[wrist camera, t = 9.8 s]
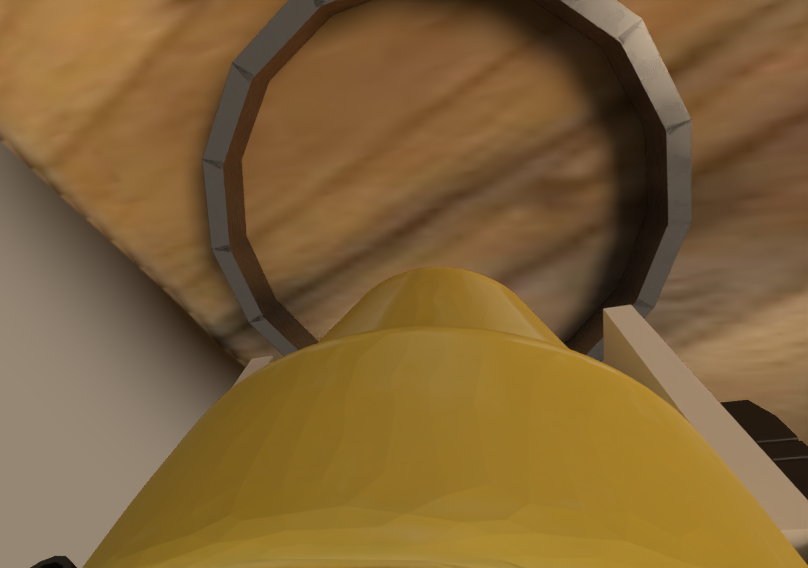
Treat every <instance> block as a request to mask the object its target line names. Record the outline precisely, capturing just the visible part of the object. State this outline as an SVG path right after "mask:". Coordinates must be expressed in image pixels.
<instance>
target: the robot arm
mask: <svg viewBox="0 0 808 568" xmlns="http://www.w3.org/2000/svg"><path fill="white" fill-rule="evenodd" d="M603 341H604V364H607V365H609V366H611V367H613V368H615V369H617V370H619V371H621V372H622V373H624V374H626V375H628V376H629V377H631V378H633V379H634V380H636V381H638V382H639V383H641V384H643V385H644V386H646V387H647V388H649V389H650V390H651V391H653V392H654V393H655V394H657V395H658V396H659V397H661V398H662V399H663V400H665V401H666V402H667V403H669V404H670V405H671V406H673V407H674V408H675V409H676V410H677V411H678V412H679V413H680V414H681V415H682V416H683V417H684V418H685V419H686V420H687V421H688V422H689V423H690V424H691V425H692V426H693V427H694V428H695V429H696V430H697V431H698V433H699V434H700V435H701V436H702V437H703V438H704V439H705V440H706V442H707V443H708V444H709V445H710V446H711V447H712V448H713V449H714V451H715V452H716V453H717V454H718V455H719V456H720V457H721V459H722V460H723V461H724V462H725V463H726V464H727V466H728V467H729V468H730V469H731V470H732V472H733V473H734V474H735V475H736V476H737V478H738V479H739V480H740V481H741V482H742V484H743V485H744V486H745V487H746V488H747V489H748V491H749V492H750V493H751V494H752V495H753V497H754V498H755V499H756V500H757V502H758V503H759V504H760V505H761V507H762V508H763V509H764V510H765V512H766V513H767V514H768V516H769V517H770V518H771V519H772V521H773V522H774V523H775V524H776V526H777V527H778V528H779V529H780V531H781V532H782V533H783V535H784V536H785V537H786V538H787V540H788V541H789V542H790V543H791V545H792V546H793V547H794V548H795V550H796V551H797V552H798V554H799V555H800V556H801V557H802V559H803V560H804V561H805V562H806V564H807V565H808V446H807V445H806V444H805V443H803V442H802V441H799V440H798V438H797V436H796V435H795V434H794V433H793V432H792V431H791V430H790V429H789V428H788V427H787V426H786V425H785V424H784V423H783V422H782V421H781V420H780V419H779V418H777V417H776V416H775V415H773V414H772V413H770V412H768V411H766V410H764V409H763V408H761V407H759V406H757V405H756V404H754V403H752V402H750V401H749V400H742V401H732V402H723V403H719V401H718V400H717V399H716V398H715V397H714V396H713V395H712V394H711V393H710V391H709V390H708V389H707V388H706V387H705V386H704V385H703V384H702V383H701V382H700V380H699V379H698V378H697V377H696V376H695V375H694V374H693V373H692V372H691V370H690V369H689V368H688V367H687V366H686V365H685V364H684V363H683V362H682V361H681V359H680V358H679V357H678V356H677V355H676V354H675V353H674V352H673V351H672V349H671V348H670V347H669V346H668V345H667V344H666V343H665V342H664V341H663V339H662V338H661V337H660V336H659V335H658V334H657V333H656V332H655V331H654V330H653V328H652V327H651V326H650V325H649V324H648V323H647V322H646V321H645V320H644V318H643V317H642V316H641V315H640V314H639V313H638V312H637V311H636V310H635V309H634V307H633V306H632V305H625V306H618V307H611V308H604V309H603ZM273 361H275V359H274V356H267V357H260V358H253V359H251V361H250V362H249V364H248V365H247V367H246V368H245V369H244V371H243V372H242V374H241V375H240V377H239V378H238V380H237V381H236V382H235V384H234V386H235V385H236V384H238V383H239V382H241V381H242V380H244V379H245V378H247V377H248V376H250V375H251V374H253V373H254V372H256V371H257V370H259V369H260V368H262V367H264V366H266V365H267V364H269V363H271V362H273ZM31 568H77V567H76V566H75V565H74V564H73V563H72V562H71V561H70V560H69V559H68V558H67V557H66V556H54V557H51V558H49V559H46V560H44V561H41V562H39V563H37V564H36V565H34V566H32V567H31Z"/></svg>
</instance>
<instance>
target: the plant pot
mask: <svg viewBox="0 0 808 568" xmlns="http://www.w3.org/2000/svg"><path fill="white" fill-rule="evenodd" d="M83 568H808V565H807V564H806V562H805V561H804V560H803V559H802V557H801V556H800V555H799V554H798V552H797V551H796V550H795V548H794V547H793V546H792V545H791V543H790V542H789V541H788V540H787V538H786V537H785V536H784V535H783V533H782V532H781V531H780V529H779V528H778V527H777V526H776V524H775V523H774V522H773V521H772V519H771V518H770V517H769V516H768V514H767V513H766V512H765V510H764V509H763V508H762V507H761V505H760V504H759V503H758V502H757V500H756V499H755V498H754V497H753V495H752V494H751V493H750V492H749V491H748V489H747V488H746V487H745V486H744V485H743V484H742V482H741V481H740V480H739V479H738V478H737V476H736V475H735V474H734V473H733V472H732V470H731V469H730V468H729V467H728V466H727V464H726V463H725V462H724V461H723V460H722V459H721V457H720V456H719V455H718V454H717V453H716V452H715V451H714V449H713V448H712V447H711V446H710V445H709V444H708V443H707V442H706V440H705V439H704V438H703V437H702V436H701V435H700V434H699V433H698V431H697V430H696V429H695V428H694V427H693V426H692V425H691V424H690V423H689V422H688V421H687V420H686V419H685V418H684V417H683V416H682V415H681V414H680V413H679V412H678V411H677V410H676V409H675V408H674V407H673V406H671V405H670V404H669V403H667V402H666V401H665V400H663V399H662V398H661V397H659V396H658V395H657V394H655V393H654V392H653V391H651V390H650V389H649V388H647V387H646V386H644V385H643V384H641V383H639V382H638V381H636V380H634V379H633V378H631V377H629V376H628V375H626V374H624V373H622V372H621V371H619V370H617V369H615V368H613V367H611V366H609V365H607V364H604V363H602V362H600V361H598V360H596V359H593V358H591V357H589V356H586V355H584V354H581V353H579V352H576V351H573V350H571V349H569V348H568V347H567V346H566V345H565V344H564V343H563V342H562V341H561V340H560V339H559V338H558V337H557V336H556V335H555V334H554V333H553V332H552V331H551V330H550V329H549V328H548V327H547V326H546V325H545V324H544V323H543V322H542V321H541V320H540V319H539V318H538V317H537V316H536V315H535V314H534V313H533V312H532V311H531V310H530V309H529V308H528V307H527V306H526V305H525V304H524V303H523V302H522V301H521V300H520V299H519V297H518V296H516V295H515V294H514V293H513V292H512V291H511V290H509V289H508V288H507V287H505V286H504V285H502V284H500V283H498V282H497V281H495V280H492V279H490V278H488V277H486V276H484V275H481V274H478V273H475V272H472V271H469V270H465V269H459V268H451V267H427V268H420V269H415V270H410V271H407V272H404V273H401V274H398V275H396V276H393V277H391V278H389V279H387V280H385V281H383V282H382V283H380V284H379V285H377V286H375V287H374V288H373V289H371V290H370V291H369V292H367V293H366V294H365V295H364V296H363V297H362V298H361V299H360V301H359V302H358V303H357V304H356V305H355V306H354V307H353V308H352V309H351V310H350V311H349V312H348V313H347V314H346V315H345V316H344V317H343V318H342V319H341V320H340V321H339V322H338V323H337V324H336V325H335V326H334V327H333V328H332V329H331V330H330V331H329V332H328V333H327V334H326V335H325V336H324V337H323V338H322V339H321V340H320V341H319V342H318V343H317V344H314V345H310V346H308V347H305V348H303V349H300V350H298V351H295V352H293V353H290V354H288V355H286V356H284V357H282V358H280V359H278V360H275V361H273V362H271V363H269V364H267V365H266V366H264V367H262V368H260V369H259V370H257V371H256V372H254V373H253V374H251V375H250V376H248V377H247V378H245V379H244V380H242V381H241V382H239V383H238V384H236V385H235V386H233V387H232V388H231V389H230V390H229V391H228V392H227V393H225V394H224V395H223V396H222V397H221V398H220V399H219V400H218V401H217V402H216V403H215V404H213V406H212V407H211V408H210V409H209V410H208V411H207V412H206V413H205V414H204V415H203V417H202V418H201V419H200V420H199V421H198V422H197V423H196V424H195V425H194V427H193V428H192V429H191V430H190V431H189V432H188V434H187V435H186V436H185V437H184V438H183V440H182V441H181V442H180V443H179V444H178V446H177V447H176V448H175V449H174V450H173V452H172V453H171V454H170V455H169V456H168V458H167V459H166V460H165V461H164V462H163V464H162V465H161V466H160V467H159V469H158V470H157V471H156V472H155V473H154V475H153V476H152V477H151V478H150V480H149V481H148V482H147V483H146V485H145V486H144V487H143V488H142V490H141V491H140V492H139V493H138V495H137V496H136V498H135V499H134V500H133V501H132V502H131V504H130V505H129V506H128V507H127V509H126V510H125V511H124V513H123V514H122V515H121V517H120V518H119V519H118V521H117V522H116V524H115V525H114V526H113V528H112V529H111V530H110V532H109V533H108V534H107V536H106V537H105V538H104V539H103V541H102V542H101V544H100V545H99V546H98V548H97V549H96V550H95V552H94V553H93V554H92V556H91V557H90V558H89V560H88V561H87V562H86V564H85V565H84V566H83Z"/></svg>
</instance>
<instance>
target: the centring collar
mask: <svg viewBox="0 0 808 568" xmlns="http://www.w3.org/2000/svg"><path fill="white" fill-rule="evenodd" d="M368 1H371V0H288V1H287V2H286V4H285V5H284V6H283V7H282V8H281V9H280V10H279V11H278V12H277V14H276V15H275V16H274V17H273V18H272V19H271V20H270V21H269V22H268V24H267V25H266V26H265V27H264V28H263V29H262V30H261V31H260V32H259V34H258V35H257V36H256V37H255V38H254V39H253V40H252V41H251V42H250V44H249V45H248V46H247V47H246V48H245V49H244V50H243V51H242V52H241V54H240V55H239V56H238V57H237V58H236V59H235V60H234V61H233V62H232V65H231V68H230V71H229V75H228V78H227V81H226V84H225V88H224V91H223V94H222V97H221V101H220V104H219V107H218V110H217V114H216V117H215V120H214V123H213V126H212V130H211V133H210V136H209V139H208V143H207V146H206V149H205V152H204V156H203V159H202V161H203V171H204V180H205V190H206V200H207V209H208V219H209V229H210V239H211V248H212V251H213V253H214V255H215V257H216V259H217V261H218V263H219V265H220V267H221V269H222V271H223V273H224V275H225V277H226V279H227V281H228V283H229V284H230V286H231V288H232V290H233V292H234V294H235V296H236V298H237V300H238V302H239V304H240V306H241V308H242V310H243V312H244V314H245V316H246V318H247V320H248V322H249V323H250V324H251V325H252V326H253V327H254V328H255V329H256V330H257V331H258V332H259V333H260V334H261V335H262V336H263V337H264V338H266V339H267V340H268V341H269V342H270V343H271V344H272V345H273V346H274V347H275V348H276V349H277V350H278V351H279V352H280V353H281V354H282V355H283V356H286V355H288V354H290V353H293V352H295V351H298V350H300V349H303V348H305V347H308V346H310V345H314V344H317V343H318V341H317V340H316V339H315V338H314V337H313V336H312V335H311V334H310V333H309V332H308V331H307V330H306V329H305V328H304V327H303V326H302V325H301V324H300V323H299V322H298V321H297V320H296V319H295V318H294V317H293V316H292V315H291V314H290V313H289V312H288V311H287V310H286V309H285V308H284V307H283V306H282V305H281V304H280V303H279V302H278V301H277V300H276V299H275V297H274V294H273V292H272V290H271V288H270V286H269V284H268V282H267V279H266V277H265V275H264V273H263V271H262V269H261V267H260V264H259V262H258V260H257V258H256V256H255V254H254V252H253V249H252V247H251V245H250V243H249V241H248V239H247V237H246V225H245V209H244V193H243V177H242V160H241V159H242V157H243V154H244V151H245V148H246V145H247V142H248V140H249V137H250V134H251V131H252V128H253V125H254V123H255V120H256V117H257V114H258V111H259V108H260V106H261V103H262V100H263V97H264V94H265V91H266V89H267V86H268V83H269V80H270V79H271V78H272V77H273V76H274V75H275V74H276V73H277V72H278V71H279V70H280V69H281V68H282V67H283V66H284V65H285V64H286V63H287V62H288V61H289V60H290V58H291V57H292V56H293V55H294V54H295V53H296V52H297V51H298V50H299V49H300V48H301V47H302V46H303V45H304V44H305V43H306V42H307V41H308V40H309V39H310V38H311V37H312V36H313V35H314V34H315V32H316V31H317V30H318V29H319V28H320V27H321V26H322V25H323V24H324V23H325V22H326V21H327V20H328V19H329V18H330V17H331V16H332V15H333V14H335V13H338V12H341V11H344V10H346V9H349V8H352V7H354V6H357V5H360V4H362V3H365V2H368ZM534 1H536V2H537V3H539V4H540V5H541V6H543V7H544V8H546V9H547V10H549V11H550V12H552V13H553V14H555V15H556V16H557V17H559V18H560V19H562V20H563V21H565V22H566V23H568V24H569V25H570V26H572V27H573V28H575V29H576V30H578V31H579V32H581V33H582V34H584V35H585V36H586V37H588V38H589V39H591V40H592V41H594V42H595V43H597V44H598V45H600V46H601V47H602V48H603V50H604V52H605V54H606V56H607V58H608V60H609V62H610V63H611V65H612V67H613V69H614V71H615V73H616V75H617V77H618V78H619V80H620V82H621V84H622V86H623V88H624V90H625V92H626V93H627V95H628V97H629V99H630V101H631V103H632V105H633V106H634V108H635V110H636V112H637V114H638V116H639V118H640V120H641V121H642V123H643V125H644V127H645V151H646V174H647V198H648V213H647V216H646V218H645V221H644V224H643V226H642V229H641V231H640V234H639V237H638V239H637V242H636V244H635V247H634V250H633V252H632V255H631V257H630V260H629V263H628V265H627V268H626V271H625V273H624V276H623V278H622V281H621V284H620V286H619V287H618V288H617V289H616V290H615V291H614V292H613V293H612V294H611V295H610V297H609V298H608V299H607V300H606V301H605V302H604V303H603V304H602V305H601V307H600V308H599V309H598V310H597V311H596V312H595V313H594V314H593V315H592V317H591V318H590V319H589V320H588V321H587V322H586V323H585V324H584V325H583V326H582V328H581V329H580V330H579V331H578V332H577V333H576V334H575V335H574V336H573V338H572V339H571V340H569V341H567V342H565V343H564V344H565V345H566V346H567V347H568V348H569V349H571V350H573V351H576V352H579V353H581V354H584V355H586V356H589V357H591V358H593V359H596V360H598V361H600V362H601V361H602V360H603V359H604V341H603V309H604V308H611V307H618V306H625V305H632V306H633V307H634V309H635V310H636V311H637V312H638V313H639V314H640V315H641V316H642V317H643V318H644V317H645V316H646V315H647V314H648V313H649V312H650V311H651V310H652V309H653V308H654V306H655V304H656V302H657V299H658V297H659V295H660V292H661V290H662V288H663V286H664V283H665V281H666V279H667V276H668V274H669V272H670V270H671V267H672V265H673V263H674V260H675V258H676V256H677V253H678V251H679V249H680V247H681V244H682V242H683V240H684V237H685V235H686V233H687V231H688V228H689V226H690V224H691V118H690V116H689V114H688V112H687V110H686V107H685V105H684V103H683V101H682V99H681V97H680V95H679V93H678V91H677V89H676V87H675V85H674V83H673V81H672V79H671V77H670V75H669V73H668V71H667V69H666V67H665V65H664V63H663V61H662V59H661V57H660V54H659V52H658V50H657V48H656V46H655V44H654V42H653V40H652V38H651V36H650V34H649V32H648V30H647V28H646V26H645V24H644V22H643V20H642V19H641V18H640V17H639V16H637V15H636V14H634V13H633V12H632V11H630V10H629V9H627V8H626V7H625V6H623V5H622V4H620V3H619V2H618V1H616V0H534Z"/></svg>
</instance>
